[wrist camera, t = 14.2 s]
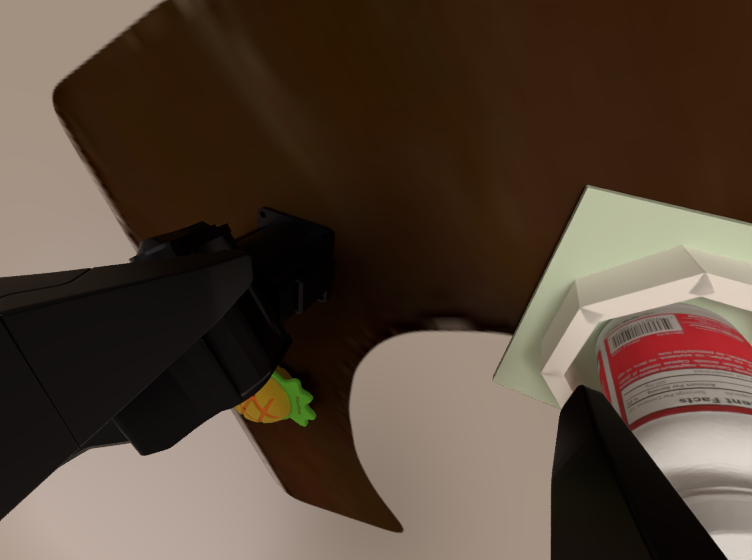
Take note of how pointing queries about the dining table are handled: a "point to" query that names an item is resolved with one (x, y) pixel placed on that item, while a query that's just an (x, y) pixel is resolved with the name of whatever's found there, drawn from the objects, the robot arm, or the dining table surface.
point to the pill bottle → (688, 409)
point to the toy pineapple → (279, 401)
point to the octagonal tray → (623, 285)
